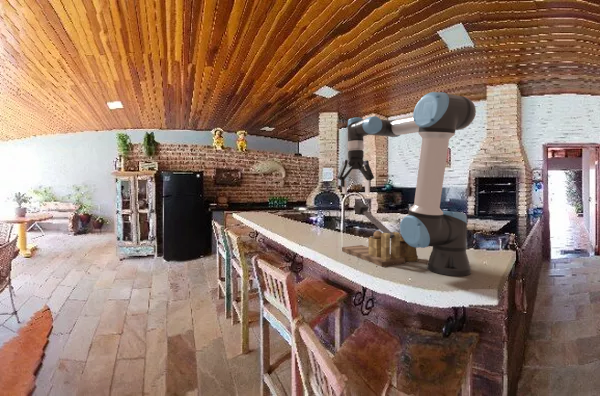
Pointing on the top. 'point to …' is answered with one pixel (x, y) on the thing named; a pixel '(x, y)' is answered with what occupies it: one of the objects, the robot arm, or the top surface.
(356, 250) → the nutcracker base
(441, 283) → the top surface
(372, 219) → the lever
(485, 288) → the top surface
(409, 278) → the top surface
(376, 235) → the walnut
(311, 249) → the top surface
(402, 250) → the wooden mug
